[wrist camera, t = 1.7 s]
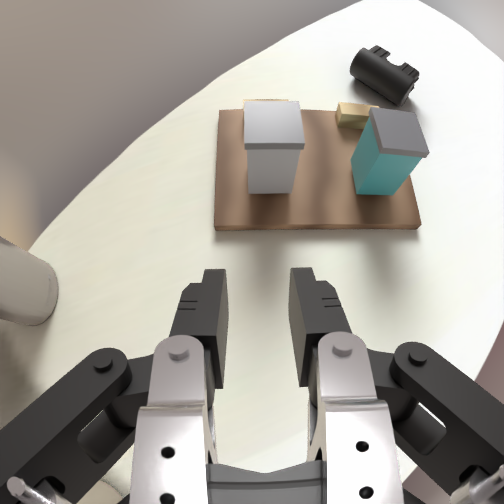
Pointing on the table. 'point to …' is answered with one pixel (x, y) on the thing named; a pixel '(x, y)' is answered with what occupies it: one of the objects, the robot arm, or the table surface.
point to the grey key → (272, 145)
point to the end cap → (384, 74)
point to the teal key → (387, 151)
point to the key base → (307, 180)
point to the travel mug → (101, 495)
